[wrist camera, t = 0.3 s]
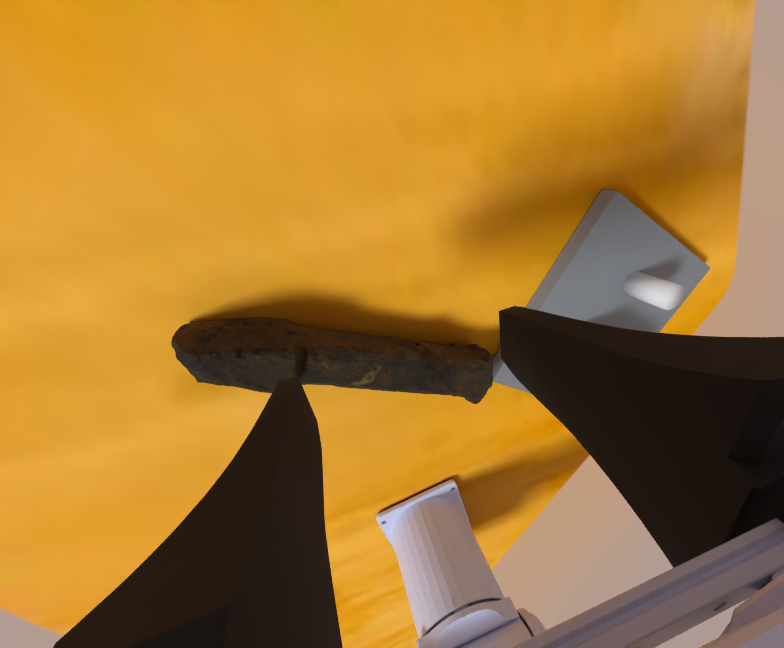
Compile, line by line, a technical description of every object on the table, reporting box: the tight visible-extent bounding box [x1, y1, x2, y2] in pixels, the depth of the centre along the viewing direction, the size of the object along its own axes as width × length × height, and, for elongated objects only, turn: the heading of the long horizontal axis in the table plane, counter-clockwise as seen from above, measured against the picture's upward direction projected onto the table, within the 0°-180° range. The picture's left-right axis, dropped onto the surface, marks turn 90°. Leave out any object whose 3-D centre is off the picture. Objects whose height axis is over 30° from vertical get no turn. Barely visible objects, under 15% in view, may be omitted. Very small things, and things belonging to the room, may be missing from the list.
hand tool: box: [172, 318, 494, 404], centre depth 20 cm, size 19×4×5 cm, turn 71°
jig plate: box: [493, 189, 710, 393], centre depth 25 cm, size 15×13×4 cm
